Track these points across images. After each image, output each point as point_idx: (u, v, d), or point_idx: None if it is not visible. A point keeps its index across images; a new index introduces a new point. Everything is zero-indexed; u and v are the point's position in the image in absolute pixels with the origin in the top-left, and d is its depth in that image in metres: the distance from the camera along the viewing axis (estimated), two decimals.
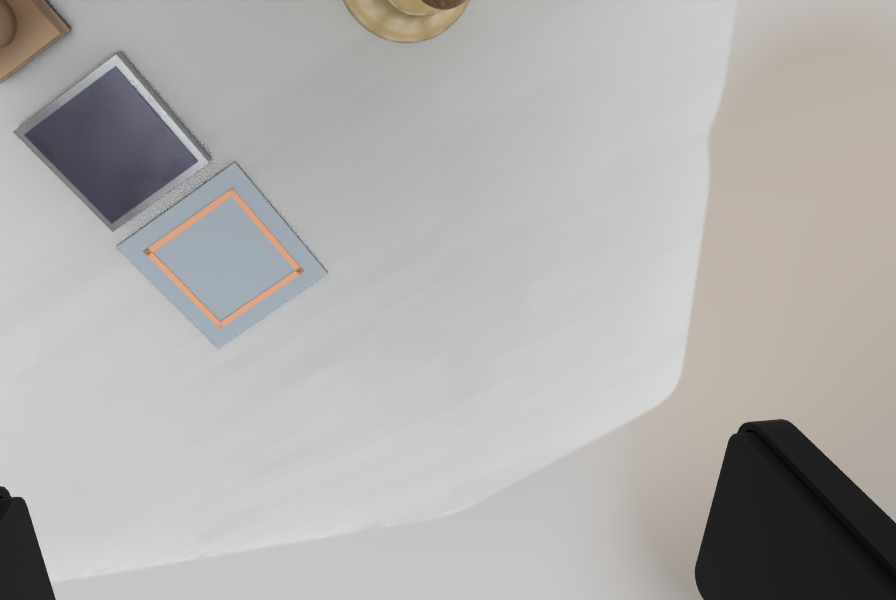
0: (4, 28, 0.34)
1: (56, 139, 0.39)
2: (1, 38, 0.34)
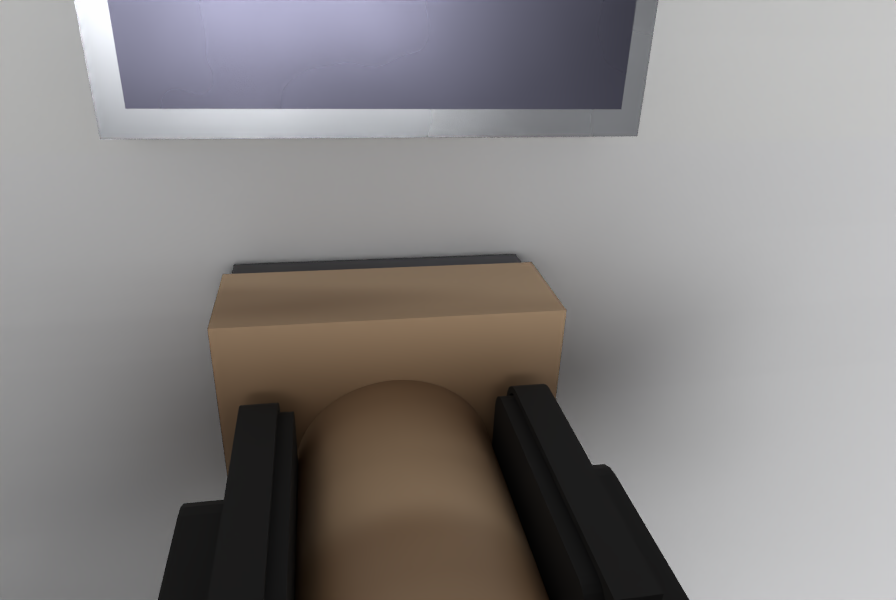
0: (324, 490, 0.09)
1: (547, 18, 0.09)
2: (358, 477, 0.08)
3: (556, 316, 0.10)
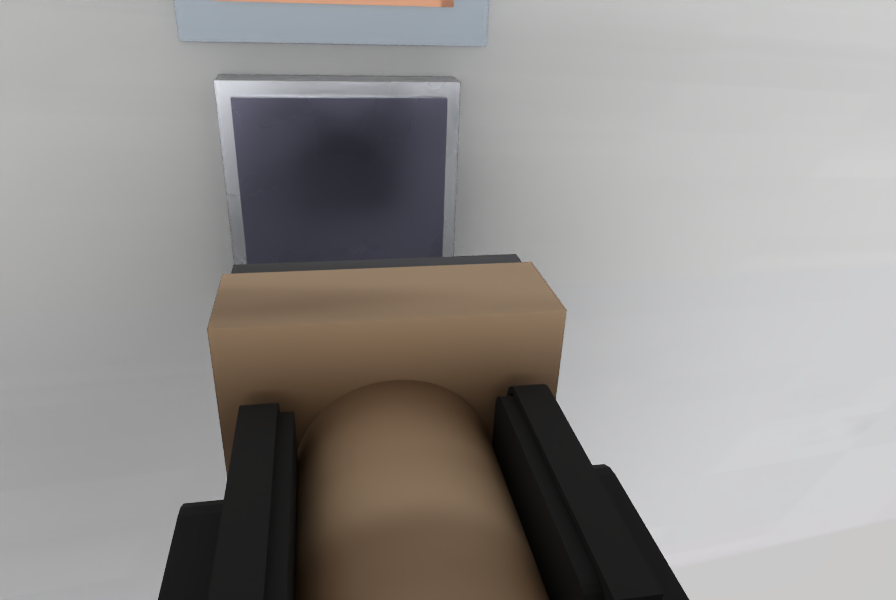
0: (324, 490, 0.09)
1: None
2: (359, 477, 0.08)
3: (556, 316, 0.10)
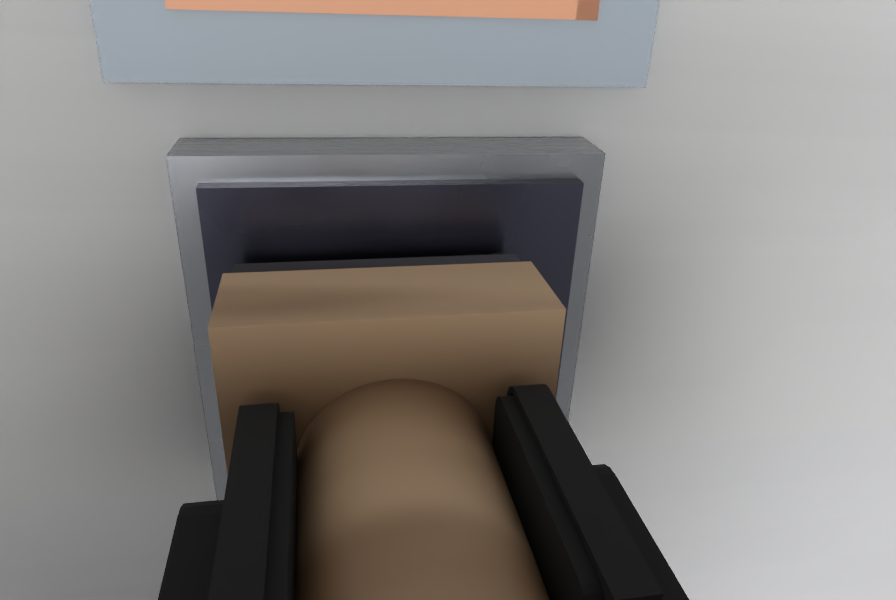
0: (324, 489, 0.09)
1: None
2: (359, 475, 0.08)
3: (556, 315, 0.10)
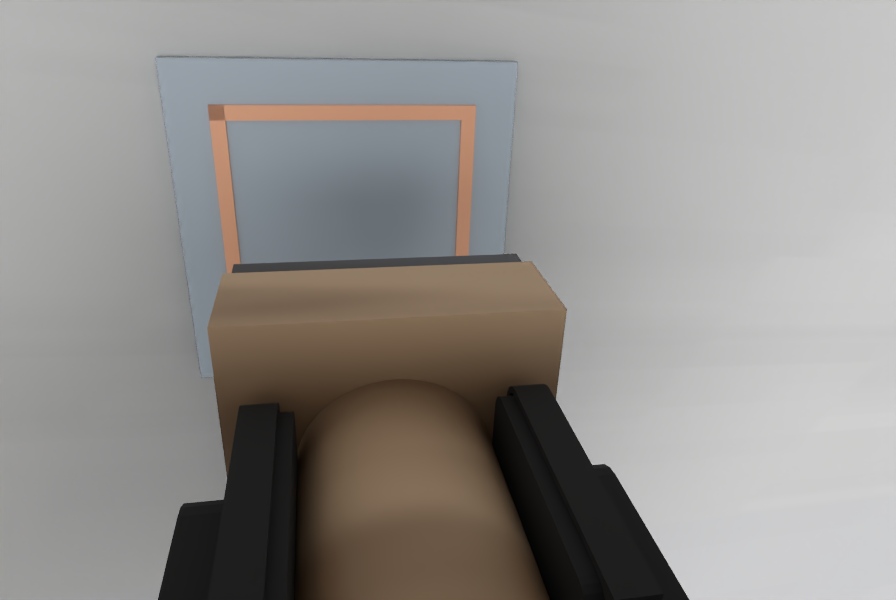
0: (324, 490, 0.09)
1: None
2: (358, 476, 0.08)
3: (556, 315, 0.10)
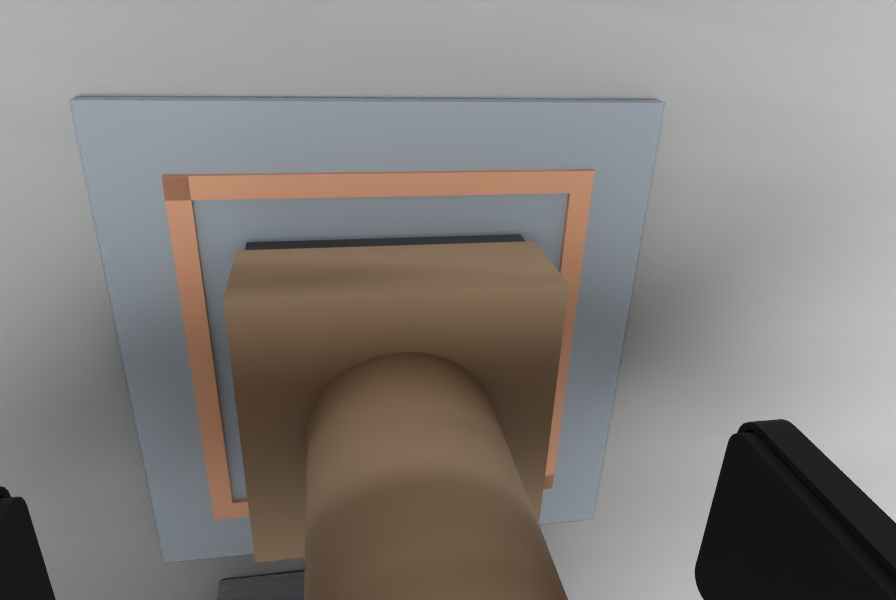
0: (334, 454, 0.09)
1: None
2: (368, 440, 0.09)
3: (559, 291, 0.10)
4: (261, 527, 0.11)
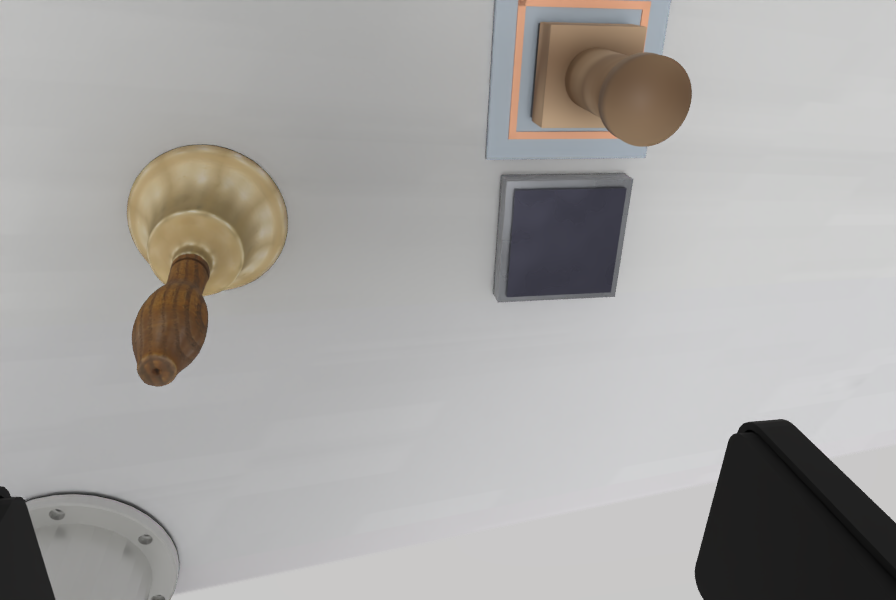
0: (588, 60, 0.33)
1: (594, 275, 0.42)
2: (598, 54, 0.33)
3: (643, 29, 0.34)
4: (546, 113, 0.35)
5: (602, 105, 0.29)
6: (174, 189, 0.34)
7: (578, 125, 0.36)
